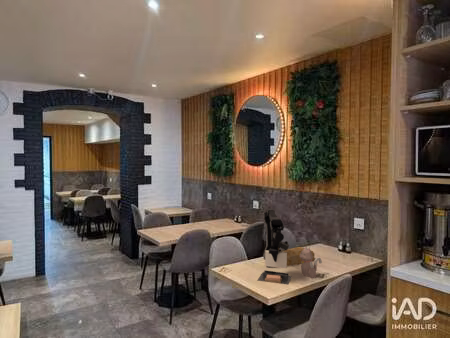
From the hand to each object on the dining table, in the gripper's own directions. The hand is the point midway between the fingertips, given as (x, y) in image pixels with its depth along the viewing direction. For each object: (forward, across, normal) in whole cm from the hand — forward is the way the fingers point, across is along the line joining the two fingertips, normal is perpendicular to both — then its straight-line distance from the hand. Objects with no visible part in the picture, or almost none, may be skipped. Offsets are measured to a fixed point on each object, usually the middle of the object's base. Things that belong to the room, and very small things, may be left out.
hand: (275, 261), depth 207 cm
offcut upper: (+9, -8, 0) cm, 12 cm away
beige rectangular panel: (+4, 0, 0) cm, 4 cm away
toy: (+12, +14, -22) cm, 28 cm away
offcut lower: (+10, -8, 0) cm, 13 cm away
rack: (+11, -3, 0) cm, 12 cm away
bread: (+12, +41, -9) cm, 43 cm away
